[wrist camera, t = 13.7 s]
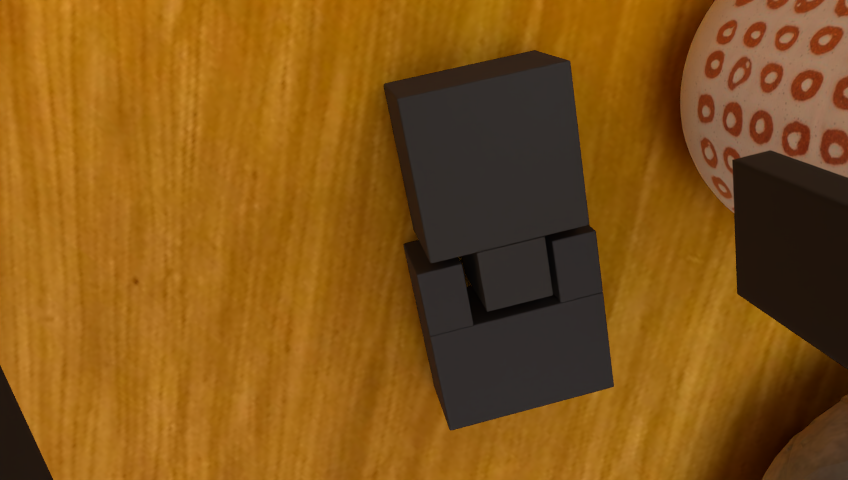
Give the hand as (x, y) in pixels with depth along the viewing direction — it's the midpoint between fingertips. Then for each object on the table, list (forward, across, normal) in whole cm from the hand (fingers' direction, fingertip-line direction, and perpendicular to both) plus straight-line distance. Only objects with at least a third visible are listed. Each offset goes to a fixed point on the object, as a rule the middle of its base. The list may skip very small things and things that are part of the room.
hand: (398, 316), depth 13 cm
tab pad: (+21, +6, -4) cm, 22 cm away
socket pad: (+21, +6, -11) cm, 24 cm away
